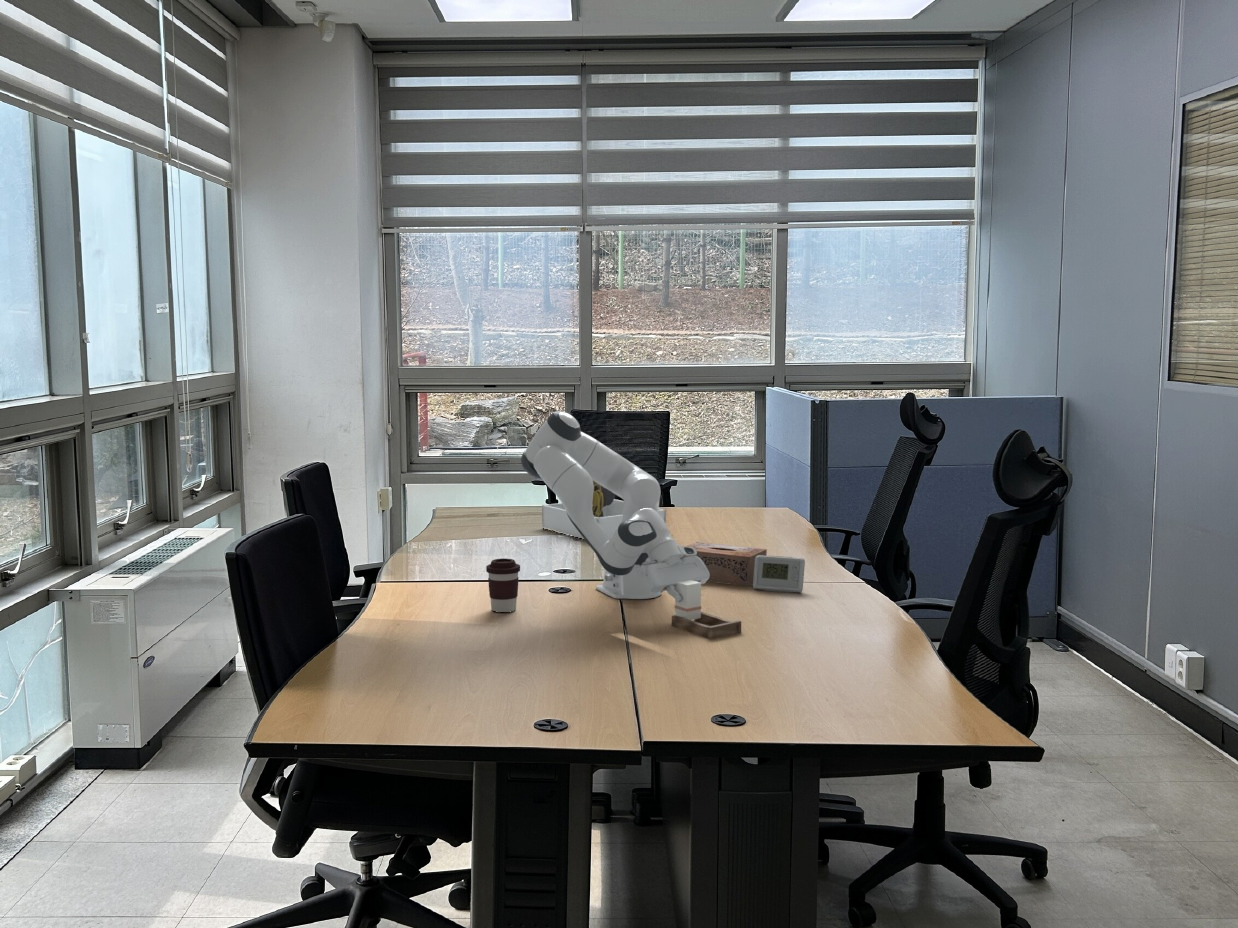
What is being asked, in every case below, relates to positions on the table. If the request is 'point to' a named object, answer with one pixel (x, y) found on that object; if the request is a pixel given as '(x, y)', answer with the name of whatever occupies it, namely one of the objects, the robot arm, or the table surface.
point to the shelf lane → (707, 626)
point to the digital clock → (779, 573)
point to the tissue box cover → (728, 562)
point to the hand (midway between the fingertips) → (689, 599)
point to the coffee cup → (503, 584)
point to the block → (689, 600)
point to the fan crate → (613, 514)
